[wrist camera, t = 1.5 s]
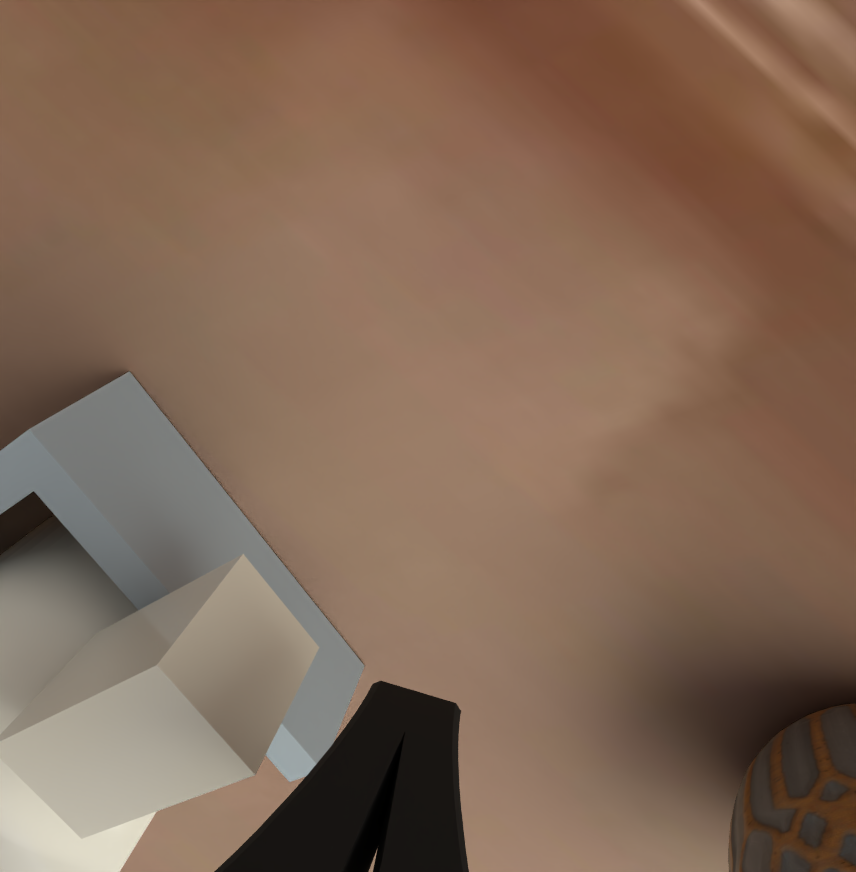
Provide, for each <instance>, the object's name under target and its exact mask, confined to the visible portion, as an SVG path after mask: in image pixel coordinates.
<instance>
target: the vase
mask: <svg viewBox="0 0 856 872" xmlns="http://www.w3.org/2000/svg"><path fill="white" fill-rule="evenodd" d="M728 862H729V872H856V703H855V704H846V705H840V706H834V707H830V708H826V709H823V710H820V711H817V712H815V713H812V714H810V715H808V716H805V717H803V718H801V719H800V720H798V721H796V722H794V723H793V724H791V725H790V726H788V727H787V728H785V729H783V730H782V731H781V732H779V733H778V734H777V735H775V736H774V737H773V738H772V739H771V740H770V741H769V742H768V743H767V744H766V745H765V746H764V747H763V749H762V750H761V751H760V752H759V754H758V755H757V756H756V758H755V759H754V760H753V761H752V763H751V764H750V766H749V767H748V769H747V771H746V773H745V775H744V777H743V780H742V783H741V785H740V788H739V791H738V794H737V797H736V800H735V804H734V809H733V814H732V819H731V824H730V835H729V849H728Z"/></svg>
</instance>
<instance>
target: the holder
mask: <svg viewBox="0 0 856 872" xmlns="http://www.w3.org/2000/svg"><path fill="white" fill-rule="evenodd" d="M32 492H35V493H36V494H37V495H38V496H39V498H40V499H41V500H42V501H43V502H44V503H45V504H46V506H47V507H48V508H49V509H50V510H51V511H52V512H53V514H54V515H55V516H56V517H57V518H58V519H59V520H60V522H61V523H62V524H63V525H64V526H65V527H66V528H67V529H68V531H69V532H70V533H71V534H72V535H73V536H74V537H75V539H76V540H77V541H78V542H79V543H80V544H81V545H82V547H83V548H84V549H85V550H86V551H87V552H88V553H89V555H90V556H91V557H92V558H93V559H94V560H95V561H96V562H97V564H98V565H99V566H100V567H101V568H102V569H103V570H104V572H105V573H106V574H107V575H108V576H109V577H110V578H111V580H112V581H113V582H114V583H115V584H116V585H117V586H118V587H119V589H120V590H121V591H122V592H123V593H124V594H125V595H126V597H127V598H128V599H129V600H130V601H131V602H132V603H133V605H134V606H135V607H136V608H137V609H138V610H140V609H142V608H144V607H146V606H147V605H149V604H151V603H153V602H155V601H157V600H159V599H160V598H162V597H164V596H166V595H168V594H170V593H172V592H173V591H175V590H177V589H179V588H181V587H183V586H185V585H186V584H188V583H190V582H192V581H194V580H196V579H198V578H199V577H201V576H203V575H205V574H207V573H209V572H211V571H212V570H214V569H216V568H218V567H220V566H222V565H223V564H225V563H227V562H229V561H231V560H233V559H235V558H236V557H238V556H240V555H242V554H244V555H245V557H246V558H247V559H248V560H249V561H250V563H251V564H252V565H253V566H254V568H255V569H256V570H257V571H258V573H259V574H260V575H261V576H262V577H263V579H264V580H265V581H266V582H267V584H268V585H269V586H270V587H271V589H272V590H273V591H274V592H275V593H276V595H277V596H278V597H279V598H280V600H281V601H282V602H283V603H284V605H285V606H286V607H287V608H288V609H289V611H290V612H291V613H292V614H293V616H294V617H295V618H296V619H297V621H298V622H299V623H300V624H301V625H302V627H303V628H304V629H305V630H306V632H307V633H308V634H309V635H310V637H311V638H312V639H313V640H314V641H315V643H316V644H317V645H318V646H319V649H318V651H317V653H316V655H315V657H314V659H313V661H312V663H311V665H310V667H309V669H308V671H307V673H306V675H305V677H304V679H303V681H302V683H301V685H300V687H299V689H298V691H297V693H296V695H295V697H294V699H293V701H292V703H291V705H290V707H289V709H288V711H287V713H286V715H285V717H284V719H283V721H282V723H281V725H280V727H279V729H278V731H277V733H276V735H275V737H274V739H273V741H272V743H271V745H270V747H269V749H268V751H267V753H266V756H267V757H268V758H269V759H270V760H271V762H272V763H273V764H274V765H275V766H276V767H277V768H278V769H279V771H280V772H281V773H282V774H283V775H284V776H285V777H286V779H287V780H288V781H289V782H291V781H294V780H296V779H299V778H302V777H305V776H307V775H308V774H309V772H310V771H311V770H312V769H313V768H314V766H315V765H316V764H317V763H318V761H319V760H320V759H321V758H322V757H323V755H324V754H325V753H326V752H327V751H328V749H329V748H330V747H331V746H332V744H333V742H334V740H335V737H336V735H337V733H338V730H339V728H340V725H341V723H342V720H343V718H344V715H345V713H346V710H347V708H348V705H349V703H350V701H351V698H352V696H353V693H354V691H355V688H356V686H357V683H358V681H359V678H360V676H361V674H362V671H363V669H364V665H363V663H362V662H361V661H360V660H359V658H358V657H357V656H356V655H355V653H354V652H353V651H352V650H351V648H350V647H349V646H348V645H347V643H346V642H345V641H344V640H343V638H342V637H341V636H340V634H339V633H338V632H337V631H336V629H335V628H334V627H333V626H332V624H331V623H330V622H329V621H328V619H327V618H326V617H325V616H324V614H323V613H322V612H321V611H320V609H319V608H318V607H317V606H316V604H315V603H314V602H313V601H312V599H311V598H310V597H309V596H308V594H307V593H306V592H305V591H304V589H303V588H302V587H301V586H300V584H299V583H298V582H297V581H296V579H295V578H294V577H293V576H292V574H291V573H290V572H289V571H288V569H287V568H286V567H285V566H284V564H283V563H282V562H281V561H280V559H279V558H278V557H277V556H276V554H275V553H274V552H273V551H272V549H271V548H270V547H269V546H268V544H267V543H266V542H265V541H264V539H263V538H262V537H261V536H260V534H259V533H258V532H257V530H256V529H255V528H254V527H253V525H252V524H251V523H250V522H249V520H248V519H247V518H246V517H245V515H244V514H243V513H242V512H241V510H240V509H239V508H238V507H237V505H236V504H235V503H234V502H233V500H232V499H231V498H230V497H229V495H228V494H227V493H226V492H225V490H224V489H223V488H222V487H221V485H220V484H219V483H218V482H217V480H216V479H215V478H214V477H213V475H212V474H211V473H210V472H209V470H208V469H207V468H206V467H205V465H204V464H203V463H202V462H201V460H200V459H199V458H198V457H197V455H196V454H195V453H194V452H193V450H192V449H191V448H190V447H189V445H188V444H187V443H186V442H185V440H184V439H183V438H182V437H181V435H180V434H179V433H178V432H177V430H176V429H175V428H174V426H173V425H172V424H171V423H170V421H169V420H168V419H167V418H166V416H165V415H164V414H163V413H162V411H161V410H160V409H159V408H158V406H157V405H156V404H155V403H154V401H153V400H152V399H151V398H150V396H149V395H148V394H147V393H146V391H145V390H144V389H143V388H142V386H141V385H140V384H139V383H138V381H137V380H136V379H135V378H134V376H133V375H132V374H131V373H130V371H129V372H127V373H125V374H124V375H122V376H120V377H119V378H117V379H115V380H113V381H112V382H110V383H108V384H106V385H105V386H103V387H101V388H99V389H98V390H96V391H94V392H92V393H91V394H89V395H87V396H86V397H84V398H82V399H80V400H79V401H77V402H75V403H73V404H72V405H70V406H68V407H66V408H65V409H63V410H61V411H59V412H58V413H56V414H54V415H53V416H51V417H49V418H47V419H46V420H44V421H42V422H40V423H39V424H37V425H35V426H33V427H32V428H30V429H28V430H27V431H26V432H24V433H23V434H22V435H20V436H19V437H18V438H17V439H15V440H14V441H13V442H11V443H10V444H9V445H7V446H6V447H5V448H3V449H2V450H1V451H0V515H1V514H2V513H4V512H5V511H6V510H8V509H9V508H11V507H12V506H14V505H15V504H17V503H18V502H19V501H21V500H22V499H24V498H25V497H27V496H28V495H29V494H31V493H32Z"/></svg>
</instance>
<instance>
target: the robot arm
mask: <svg viewBox="0 0 856 872" xmlns="http://www.w3.org/2000/svg"><path fill="white" fill-rule="evenodd" d="M460 714H461V710H460V709H459V707H458V706H457V704H456V703H453V702H450V701H447V700H443V699H440V698H437V697H433V696H430V695H427V694H423V693H420V692H417V691H413V690H410V689H407V688H403V687H400V686H397V685H393V684H390V683H387V682H383V681H379V682H377V683H374V684H373V685H372V686H371V688H370V690H369V692H368V694H367V696H366V697H365V699H364V700H363V702H362V704H361V705H360V707H359V708H358V710H357V711H356V713H355V714H354V716H353V717H352V719H351V720H350V721H349V723H348V724H347V726H346V727H345V728H344V730H343V731H342V732H341V734H340V735H339V736H338V738H337V739H336V740H335V742H334V743H333V744H332V746H331V747H330V748H329V749H328V751H327V752H326V753H325V754H324V755H323V757H322V758H321V759H320V760H319V761H318V763H317V764H316V765H315V766H314V768H313V769H312V770H311V771H310V772H309V774H308V775H307V776H306V777H305V778H304V780H303V781H302V782H301V783H300V784H299V785H298V787H297V788H296V789H295V790H294V791H293V792H292V793H291V794H290V795H289V797H288V798H287V799H286V800H285V801H284V802H283V803H282V804H281V805H280V806H279V807H278V808H277V809H276V810H275V812H274V813H273V814H272V815H271V816H270V817H269V818H268V819H267V820H266V821H265V822H264V823H263V824H262V826H261V827H260V828H259V829H258V830H257V831H256V832H255V833H254V834H253V835H252V836H251V837H250V838H249V839H248V840H247V841H246V842H245V843H244V844H243V845H242V846H241V847H240V848H239V849H238V850H237V851H236V852H235V853H234V854H233V855H232V856H231V857H230V858H228V859H227V860H226V861H225V862H224V863H223V864H222V865H221V866H220V867H219V868H218V869H217V870H216V871H215V872H368V871H369V869H370V866H371V863H372V861H373V858H374V856H375V853H376V850H377V855H376V860H375V865H374V870H373V872H469V870H468V863H467V856H466V849H465V840H464V831H463V821H462V812H461V802H460V789H459V768H458V734H459V721H460ZM377 848H378V849H377Z"/></svg>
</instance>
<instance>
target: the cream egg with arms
mask: <svg viewBox="0 0 856 872" xmlns="http://www.w3.org/2000/svg"><path fill="white" fill-rule="evenodd" d="M318 649H319V646H318V645H317V644H316V643H315V641H314V640H313V639H312V638H311V637H310V635H309V634H308V633H307V632H306V630H305V629H304V628H303V627H302V625H301V624H300V623H299V622H298V621H297V619H296V618H295V617H294V616H293V614H292V613H291V612H290V611H289V609H288V608H287V607H286V606H285V605H284V603H283V602H282V601H281V600H280V598H279V597H278V596H277V595H276V593H275V592H274V591H273V590H272V589H271V587H270V586H269V585H268V584H267V582H266V581H265V580H264V579H263V577H262V576H261V575H260V574H259V573H258V571H257V570H256V569H255V568H254V566H253V565H252V564H251V563H250V561H249V560H248V559H247V558H246V557H245V555H244V554H242V555H240V556H238V557H236V558H235V559H233V560H231V561H229V562H227V563H225V564H223V565H222V566H220V567H218V568H216V569H214V570H212V571H211V572H209V573H207V574H205V575H203V576H201V577H199V578H198V579H196V580H194V581H192V582H190V583H188V584H186V585H185V586H183V587H181V588H179V589H177V590H175V591H173V592H172V593H170V594H168V595H166V596H164V597H162V598H160V599H159V600H157V601H155V602H153V603H151V604H149V605H147V606H146V607H144V608H142V609H140V610H138V609H137V608H136V607H135V606H134V605H133V603H132V602H131V601H130V600H129V599H128V598H127V597H126V595H125V594H124V593H123V592H122V591H121V590H120V589H119V587H118V586H117V585H116V584H115V583H114V582H113V581H112V580H111V578H110V577H109V576H108V575H107V574H106V573H105V572H104V570H103V569H102V568H101V567H100V566H99V565H98V564H97V562H96V561H95V560H94V559H93V558H92V557H91V556H90V555H89V553H88V552H87V551H86V550H85V549H84V548H83V547H82V545H81V544H80V543H79V542H78V541H77V540H76V539H75V537H74V536H73V535H72V534H71V533H70V532H69V531H68V529H67V528H66V527H65V526H64V525H63V524H62V523H61V522H60V520H59V519H58V518H57V517H56V516H55V515H54V516H52V517H51V518H49V519H47V520H46V521H44V522H43V523H42V524H40V525H39V526H38V527H36V528H35V529H34V530H33V531H31V532H30V533H29V534H27V535H26V536H25V537H23V538H22V539H21V540H19V541H18V542H17V543H15V544H14V545H13V546H12V547H10V548H9V549H8V550H6V551H5V552H4V553H2V554H1V555H0V872H120V870H121V868H122V867H123V865H124V864H125V862H126V860H127V859H128V857H129V855H130V854H131V852H132V851H133V849H134V847H135V846H136V844H137V842H138V841H139V839H140V838H141V836H142V834H143V833H144V831H145V829H146V828H147V826H148V825H149V823H150V821H151V820H152V818H153V816H154V815H155V813H156V812H157V811H159V810H162V809H164V808H167V807H170V806H173V805H175V804H178V803H181V802H183V801H186V800H189V799H192V798H194V797H197V796H200V795H202V794H205V793H208V792H211V791H213V790H216V789H219V788H221V787H224V786H227V785H230V784H232V783H235V782H238V781H240V780H243V779H246V778H249V777H251V776H254V775H256V773H257V771H258V769H259V767H260V765H261V763H262V761H263V759H264V757H265V755H266V753H267V751H268V749H269V747H270V745H271V743H272V741H273V739H274V737H275V735H276V733H277V731H278V729H279V727H280V725H281V723H282V721H283V719H284V717H285V715H286V713H287V711H288V709H289V707H290V705H291V703H292V701H293V699H294V697H295V695H296V693H297V691H298V689H299V687H300V685H301V683H302V681H303V679H304V677H305V675H306V673H307V671H308V669H309V667H310V665H311V663H312V661H313V659H314V657H315V655H316V653H317V651H318Z"/></svg>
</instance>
